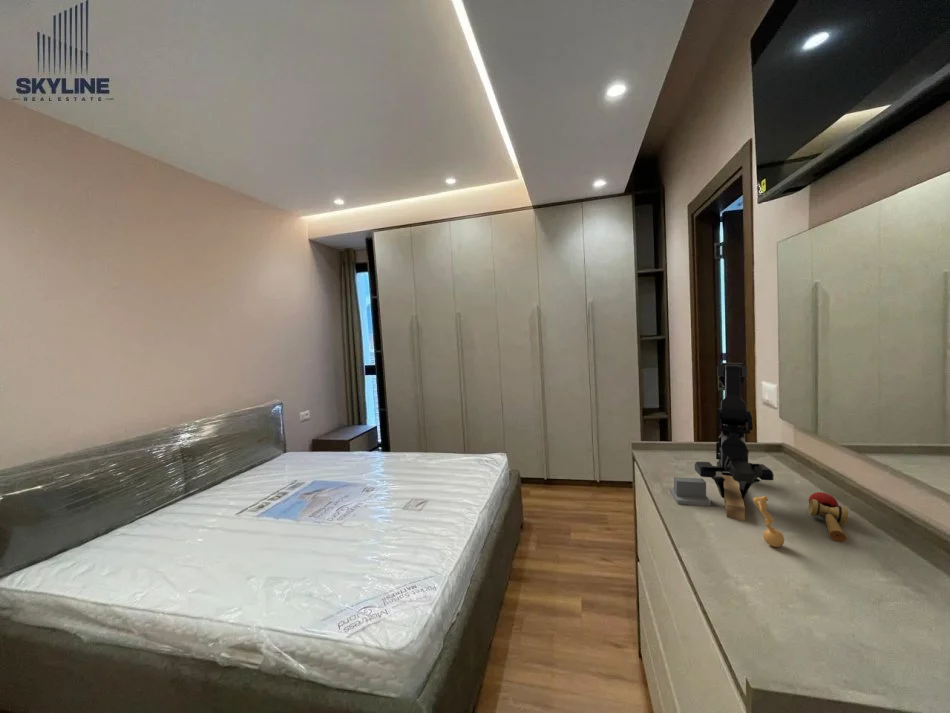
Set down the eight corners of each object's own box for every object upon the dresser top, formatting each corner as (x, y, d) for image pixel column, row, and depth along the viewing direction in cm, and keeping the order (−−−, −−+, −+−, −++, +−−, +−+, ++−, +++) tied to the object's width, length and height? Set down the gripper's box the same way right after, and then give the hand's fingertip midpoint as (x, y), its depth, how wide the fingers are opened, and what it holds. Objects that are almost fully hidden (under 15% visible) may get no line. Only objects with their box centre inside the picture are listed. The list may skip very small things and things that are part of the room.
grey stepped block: (701, 493, 115) (701, 475, 114) (711, 506, 107) (711, 486, 107) (669, 491, 117) (669, 473, 117) (677, 503, 109) (677, 484, 109)
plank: (736, 488, 118) (736, 476, 118) (744, 521, 99) (744, 507, 99) (721, 486, 120) (721, 474, 120) (726, 518, 101) (727, 504, 101)
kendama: (864, 552, 86) (842, 508, 101) (859, 527, 86) (838, 487, 100) (820, 547, 91) (805, 506, 105) (815, 524, 90) (801, 486, 105)
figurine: (787, 557, 83) (788, 507, 82) (754, 549, 87) (755, 501, 86) (781, 538, 90) (782, 492, 89) (750, 532, 94) (751, 487, 93)
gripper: (708, 455, 102) (707, 509, 104) (785, 458, 98) (784, 514, 99) (694, 443, 113) (693, 491, 115) (763, 445, 109) (762, 495, 110)
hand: (732, 498), depth 109 cm, fingers closed on plank, 5 cm apart
